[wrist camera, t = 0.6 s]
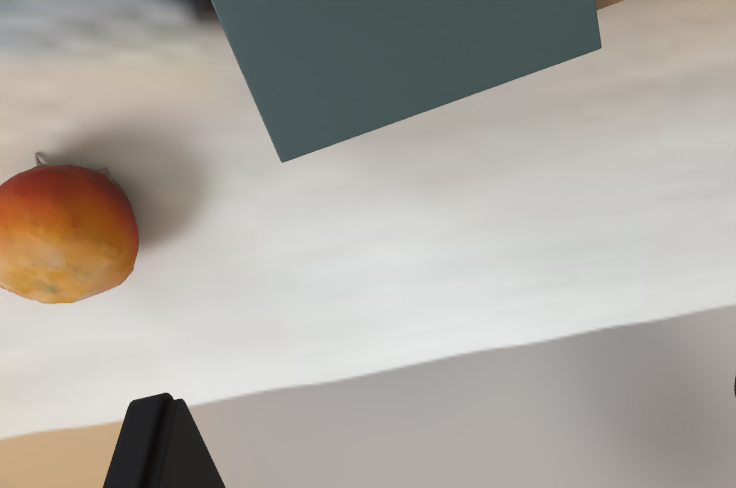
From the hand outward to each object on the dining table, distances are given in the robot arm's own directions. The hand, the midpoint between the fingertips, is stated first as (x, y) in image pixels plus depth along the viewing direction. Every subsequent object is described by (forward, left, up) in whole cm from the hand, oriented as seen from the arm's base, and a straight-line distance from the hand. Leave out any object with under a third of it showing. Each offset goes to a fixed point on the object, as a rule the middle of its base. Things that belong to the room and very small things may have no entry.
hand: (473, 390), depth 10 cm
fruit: (+4, -18, -28) cm, 33 cm away
